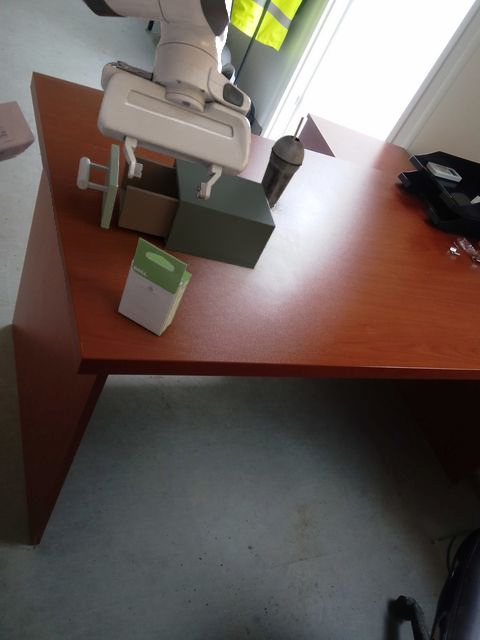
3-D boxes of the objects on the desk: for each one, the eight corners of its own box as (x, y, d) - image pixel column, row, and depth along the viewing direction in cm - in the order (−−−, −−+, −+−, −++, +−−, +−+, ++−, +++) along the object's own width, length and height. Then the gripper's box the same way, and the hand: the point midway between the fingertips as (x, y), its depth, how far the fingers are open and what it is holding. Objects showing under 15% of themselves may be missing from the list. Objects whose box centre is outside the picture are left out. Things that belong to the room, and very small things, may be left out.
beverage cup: (284, 207, 106) (327, 125, 93) (269, 214, 101) (311, 128, 88) (261, 189, 107) (300, 105, 94) (244, 195, 102) (282, 107, 89)
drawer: (71, 220, 71) (78, 175, 66) (77, 177, 79) (83, 134, 74) (194, 249, 80) (208, 211, 74) (188, 207, 87) (201, 171, 82)
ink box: (172, 322, 67) (201, 252, 58) (159, 337, 64) (187, 266, 55) (132, 298, 67) (154, 224, 58) (116, 312, 64) (137, 236, 55)
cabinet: (164, 249, 78) (181, 200, 71) (161, 203, 86) (175, 156, 80) (253, 269, 85) (275, 226, 78) (242, 225, 93) (261, 183, 87)
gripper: (107, 41, 54) (90, 158, 55) (261, 103, 63) (245, 203, 63) (102, 66, 60) (86, 171, 60) (244, 120, 68) (230, 211, 69)
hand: (169, 188), depth 62 cm, fingers open, 8 cm apart
